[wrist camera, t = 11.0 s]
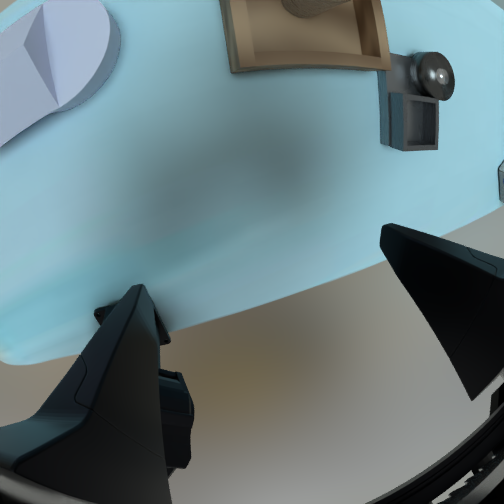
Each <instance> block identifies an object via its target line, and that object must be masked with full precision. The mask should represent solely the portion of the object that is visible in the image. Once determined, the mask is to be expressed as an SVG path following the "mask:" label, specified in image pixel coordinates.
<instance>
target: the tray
mask: <svg viewBox="0 0 504 504" xmlns="http://www.w3.org/2000/svg"><path fill="white" fill-rule="evenodd" d="M219 1H220V7H221V13H222V20H223V26H224V32H225V38H226V45H227V51H228V58H229V64H230V70H231V73H238V72H247V71H257V70H270V69H291V68H328V69H348V70H361V71H392V70H391V61H390V52H389V45H388V38H387V32H386V26H385V20H384V15H383V10H382V6H381V1H380V0H351V1H348V2H345V3H343V4H340V5H338V6H336V7H333V8H331V9H329V10H326V11H324V12H322V13H320V14H317V15H315V16H313V17H311V18H299V17H296V16H294V15H292V14H290V13H289V12H288V11H287V10H286V9H285V8H284V7H283V5H282V2H281V0H219Z"/></svg>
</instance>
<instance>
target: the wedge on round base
mask: <svg viewBox="0 0 504 504" xmlns="http://www.w3.org/2000/svg"><path fill="white" fill-rule="evenodd" d="M120 42H121V41H120V31H119V28H118V25H117V23H116V21H115V20H114V18H113V17H112V15H111V14H110V13H109V12H108V11H107V9H106V8H105V7H104V6H103V4H102V3H101V2H100V1H99V0H48V1H46V2H45V3H43V4H41V5H40V6H38V7H36V8H35V9H33V10H32V11H30V12H29V13H27V14H26V15H24V16H23V17H21V18H20V19H19V20H17V21H16V22H15V23H13V24H12V25H11V26H9V27H8V28H7V29H5V30H4V31H3V32H2V33H0V147H1V146H2V145H4V144H5V143H6V142H7V141H9V140H10V139H12V138H13V137H14V136H16V135H17V134H18V133H20V132H21V131H23V130H24V129H26V128H27V127H29V126H30V125H32V124H33V123H35V122H36V121H38V120H39V119H41V118H43V117H44V116H46V115H48V114H49V113H55V112H61V111H65V110H69V109H71V108H74V107H76V106H78V105H80V104H81V103H83V102H84V101H86V100H87V99H89V98H90V97H91V96H92V95H93V94H94V93H96V92H97V91H98V89H99V88H100V87H101V86H102V85H103V84H104V82H105V81H106V80H107V78H108V77H109V75H110V73H111V72H112V70H113V68H114V66H115V64H116V61H117V58H118V55H119V50H120Z"/></svg>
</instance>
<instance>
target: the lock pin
mask: <svg viewBox="0 0 504 504" xmlns="http://www.w3.org/2000/svg"><path fill="white" fill-rule="evenodd" d="M348 1H351V0H281V2H282V5H283V7H284V8H285V9H286V10H287V11H288V12H289V13H290V14H292V15H294V16H296V17H299V18H311V17H313V16H315V15H317V14H320V13H322V12H324V11H326V10H329V9H331V8H333V7H336V6H338V5H340V4H343V3H345V2H348Z"/></svg>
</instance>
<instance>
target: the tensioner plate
mask: <svg viewBox="0 0 504 504" xmlns="http://www.w3.org/2000/svg"><path fill="white" fill-rule="evenodd" d="M390 61H391V70H392V71H377V74H378V85H379V100H380V123H381V144H384V145H387V146H390V147H392V148H395V149H398V150H401V151H420V150H438V133H439V100H442V101H446V100H448V99H449V98H450V97H451V96H452V94H453V92H454V87H455V79H454V73H453V70H452V67H451V65H450V63H449V61H448V60H447V59H446V57H445V56H443V55H442V54H441V53H438V52H418V53H416V54H415V55H414V56H413V57H412V58H411V57H406V56H402V55H398V54H393V53H390Z"/></svg>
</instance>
